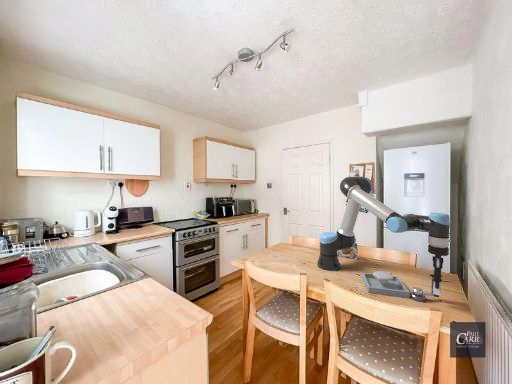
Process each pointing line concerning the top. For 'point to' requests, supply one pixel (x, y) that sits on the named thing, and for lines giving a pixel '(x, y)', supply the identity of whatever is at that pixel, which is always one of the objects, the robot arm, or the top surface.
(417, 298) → the crank base
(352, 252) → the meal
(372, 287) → the tray
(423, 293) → the crank
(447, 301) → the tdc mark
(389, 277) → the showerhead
